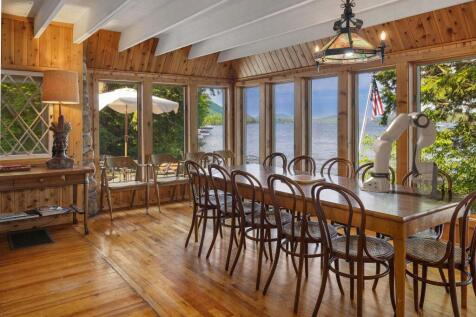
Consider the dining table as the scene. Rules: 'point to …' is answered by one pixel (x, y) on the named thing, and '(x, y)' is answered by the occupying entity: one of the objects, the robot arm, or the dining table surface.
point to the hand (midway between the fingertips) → (426, 182)
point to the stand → (434, 185)
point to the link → (428, 185)
